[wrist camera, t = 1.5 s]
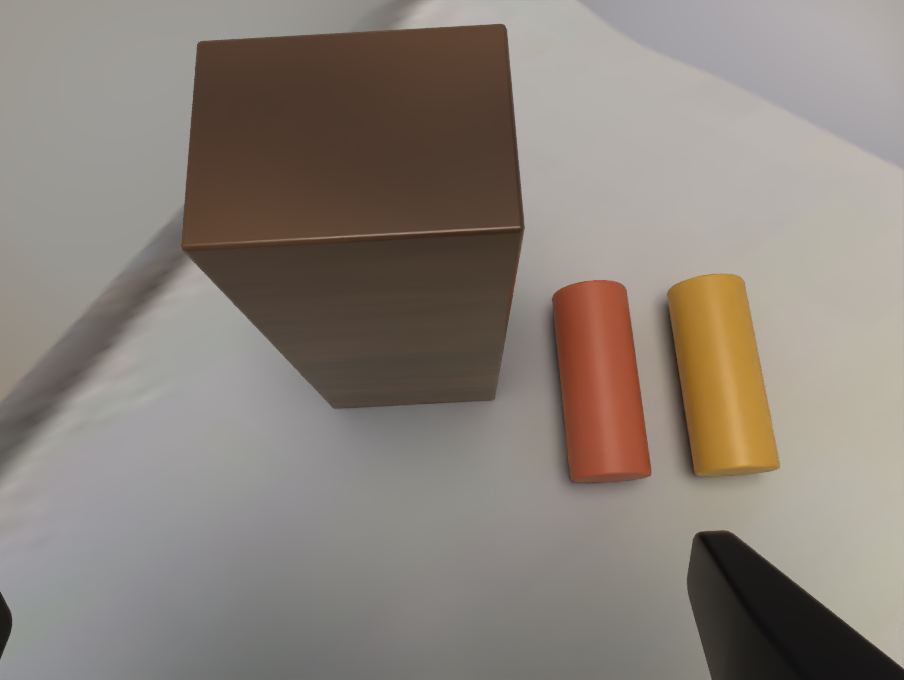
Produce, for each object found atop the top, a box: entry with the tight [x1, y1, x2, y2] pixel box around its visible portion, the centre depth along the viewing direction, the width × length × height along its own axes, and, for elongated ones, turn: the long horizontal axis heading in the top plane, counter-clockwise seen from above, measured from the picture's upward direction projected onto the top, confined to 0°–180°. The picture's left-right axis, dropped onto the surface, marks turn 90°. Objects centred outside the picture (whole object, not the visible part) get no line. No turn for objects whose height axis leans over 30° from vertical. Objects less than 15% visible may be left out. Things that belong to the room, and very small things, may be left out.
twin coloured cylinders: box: [552, 274, 780, 483], centre depth 21 cm, size 6×6×2 cm
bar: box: [181, 24, 525, 408], centre depth 17 cm, size 4×5×12 cm
